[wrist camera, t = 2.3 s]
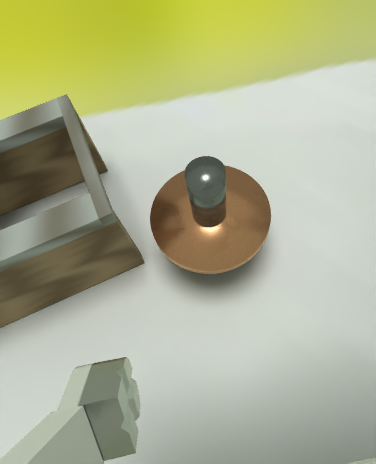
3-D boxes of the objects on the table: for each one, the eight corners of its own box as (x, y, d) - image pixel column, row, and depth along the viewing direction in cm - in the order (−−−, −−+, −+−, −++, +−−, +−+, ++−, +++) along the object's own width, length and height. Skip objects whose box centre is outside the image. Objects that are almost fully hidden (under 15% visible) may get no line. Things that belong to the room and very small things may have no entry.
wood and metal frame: (104, 163, 38) (66, 94, 29) (144, 262, 32) (111, 213, 23) (-43, 224, 36) (-131, 171, 27) (-32, 341, 30) (-141, 321, 21)
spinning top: (234, 185, 34) (236, 100, 24) (283, 263, 30) (311, 198, 20) (149, 223, 34) (114, 150, 23) (186, 309, 29) (164, 265, 19)
